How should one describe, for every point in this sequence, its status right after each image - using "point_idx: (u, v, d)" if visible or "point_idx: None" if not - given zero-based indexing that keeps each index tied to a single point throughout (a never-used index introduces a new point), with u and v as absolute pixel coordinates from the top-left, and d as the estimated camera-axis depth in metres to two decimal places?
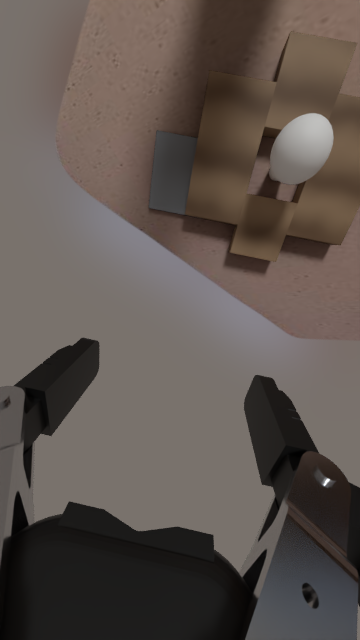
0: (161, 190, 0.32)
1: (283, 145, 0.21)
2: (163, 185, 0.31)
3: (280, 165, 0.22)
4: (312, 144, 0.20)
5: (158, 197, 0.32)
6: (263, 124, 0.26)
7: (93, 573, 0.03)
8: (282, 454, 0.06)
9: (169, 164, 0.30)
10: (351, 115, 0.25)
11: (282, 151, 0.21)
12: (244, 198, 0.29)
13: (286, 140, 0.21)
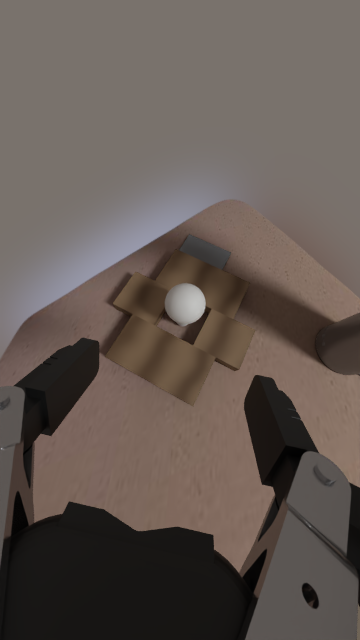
0: (197, 245, 0.43)
1: (191, 284, 0.29)
2: (199, 246, 0.43)
3: None
4: (183, 294, 0.27)
5: (193, 242, 0.43)
6: (213, 308, 0.36)
7: (93, 573, 0.03)
8: (282, 454, 0.06)
9: (210, 254, 0.42)
10: (200, 365, 0.32)
11: (187, 283, 0.29)
12: (171, 288, 0.37)
13: (193, 285, 0.29)
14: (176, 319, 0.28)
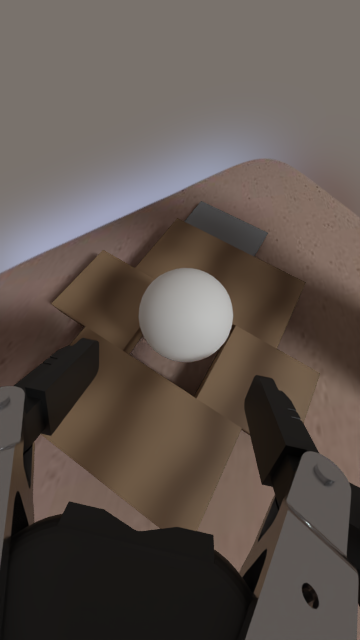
0: (212, 217, 0.26)
1: (202, 271, 0.12)
2: (216, 220, 0.26)
3: None
4: (183, 291, 0.10)
5: (207, 213, 0.26)
6: (238, 324, 0.19)
7: (93, 573, 0.03)
8: (282, 454, 0.06)
9: (234, 232, 0.25)
10: (208, 446, 0.15)
11: (194, 269, 0.12)
12: None
13: (207, 273, 0.12)
14: (161, 352, 0.12)
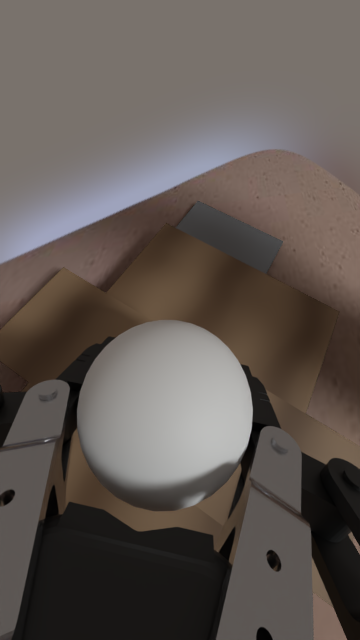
0: (212, 221, 0.21)
1: (195, 329, 0.07)
2: (217, 225, 0.20)
3: (150, 322, 0.07)
4: (151, 398, 0.05)
5: (205, 216, 0.21)
6: None
7: (93, 573, 0.03)
8: None
9: (240, 241, 0.20)
10: None
11: (181, 325, 0.07)
12: (145, 315, 0.15)
13: (204, 336, 0.06)
14: None
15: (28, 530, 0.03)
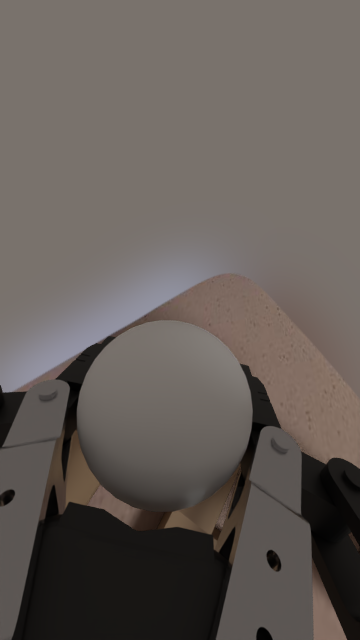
0: None
1: (195, 330, 0.07)
2: None
3: (150, 322, 0.07)
4: (151, 399, 0.05)
5: None
6: None
7: (93, 573, 0.03)
8: None
9: None
10: None
11: (181, 325, 0.07)
12: None
13: (204, 337, 0.06)
14: None
15: (28, 530, 0.03)
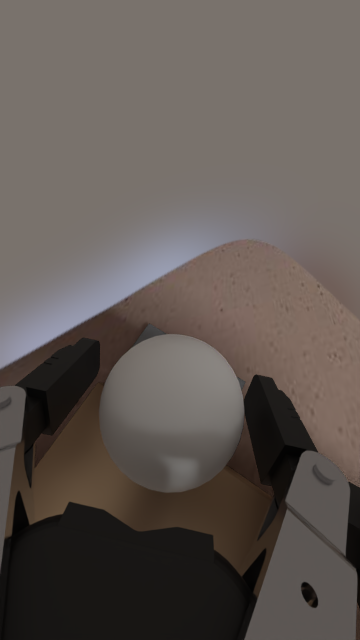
0: None
1: (197, 344, 0.08)
2: None
3: (159, 337, 0.08)
4: (164, 402, 0.06)
5: None
6: None
7: (93, 573, 0.03)
8: (281, 453, 0.06)
9: None
10: None
11: (185, 340, 0.08)
12: None
13: (205, 350, 0.08)
14: None
15: None
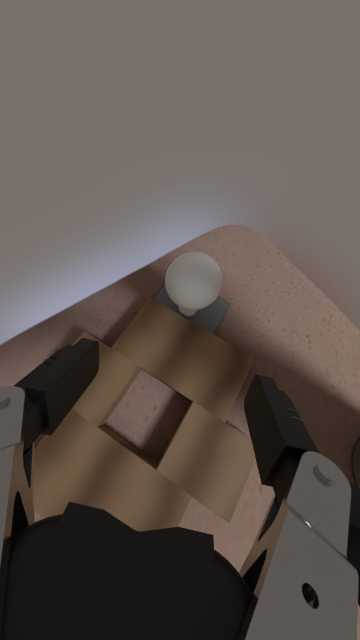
0: None
1: None
2: None
3: None
4: (193, 263, 0.19)
5: None
6: (195, 400, 0.23)
7: (93, 573, 0.03)
8: (282, 454, 0.06)
9: None
10: (163, 512, 0.19)
11: (199, 252, 0.21)
12: (134, 362, 0.24)
13: (206, 255, 0.20)
14: (180, 301, 0.20)
15: None
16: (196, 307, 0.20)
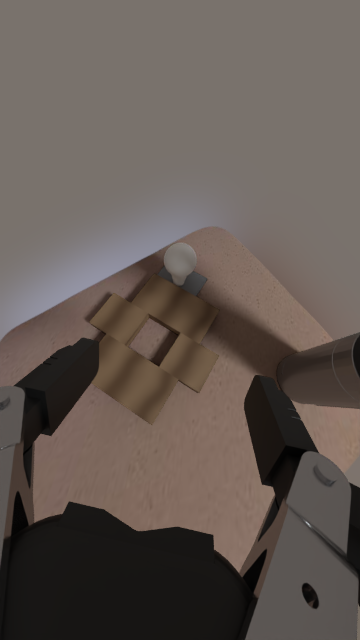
0: None
1: None
2: None
3: None
4: (179, 248, 0.34)
5: None
6: (182, 332, 0.38)
7: (93, 573, 0.03)
8: (282, 454, 0.06)
9: (187, 278, 0.45)
10: (163, 386, 0.35)
11: (183, 243, 0.36)
12: (145, 311, 0.39)
13: (187, 244, 0.36)
14: (172, 270, 0.35)
15: None
16: (181, 274, 0.36)
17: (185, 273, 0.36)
